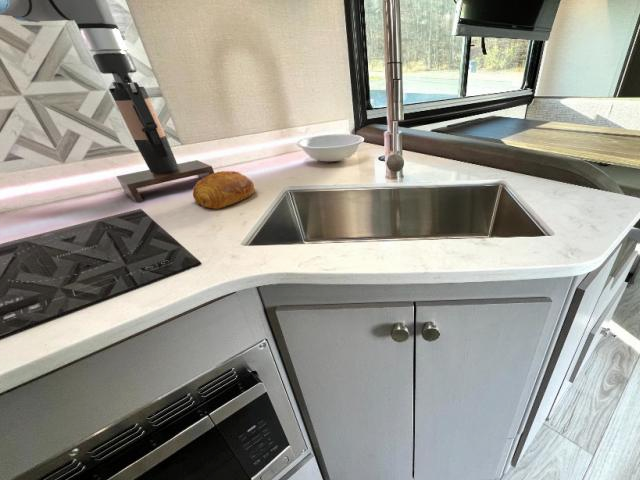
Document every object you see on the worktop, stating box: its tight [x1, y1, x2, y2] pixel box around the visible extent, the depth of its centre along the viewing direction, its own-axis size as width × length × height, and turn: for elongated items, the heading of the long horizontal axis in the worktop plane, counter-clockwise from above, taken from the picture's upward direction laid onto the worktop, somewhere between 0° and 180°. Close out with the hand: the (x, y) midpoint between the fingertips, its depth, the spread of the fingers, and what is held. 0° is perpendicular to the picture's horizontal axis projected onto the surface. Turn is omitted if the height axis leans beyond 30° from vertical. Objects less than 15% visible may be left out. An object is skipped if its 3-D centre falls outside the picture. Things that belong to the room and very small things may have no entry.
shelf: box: [116, 159, 215, 204], centre depth 94 cm, size 22×12×5 cm, turn 137°
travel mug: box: [109, 86, 178, 173], centre depth 86 cm, size 8×8×20 cm
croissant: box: [192, 170, 255, 210], centre depth 84 cm, size 14×16×8 cm
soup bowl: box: [296, 133, 365, 162], centre depth 115 cm, size 24×24×7 cm
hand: (157, 154), depth 89 cm, fingers closed on travel mug, 8 cm apart
